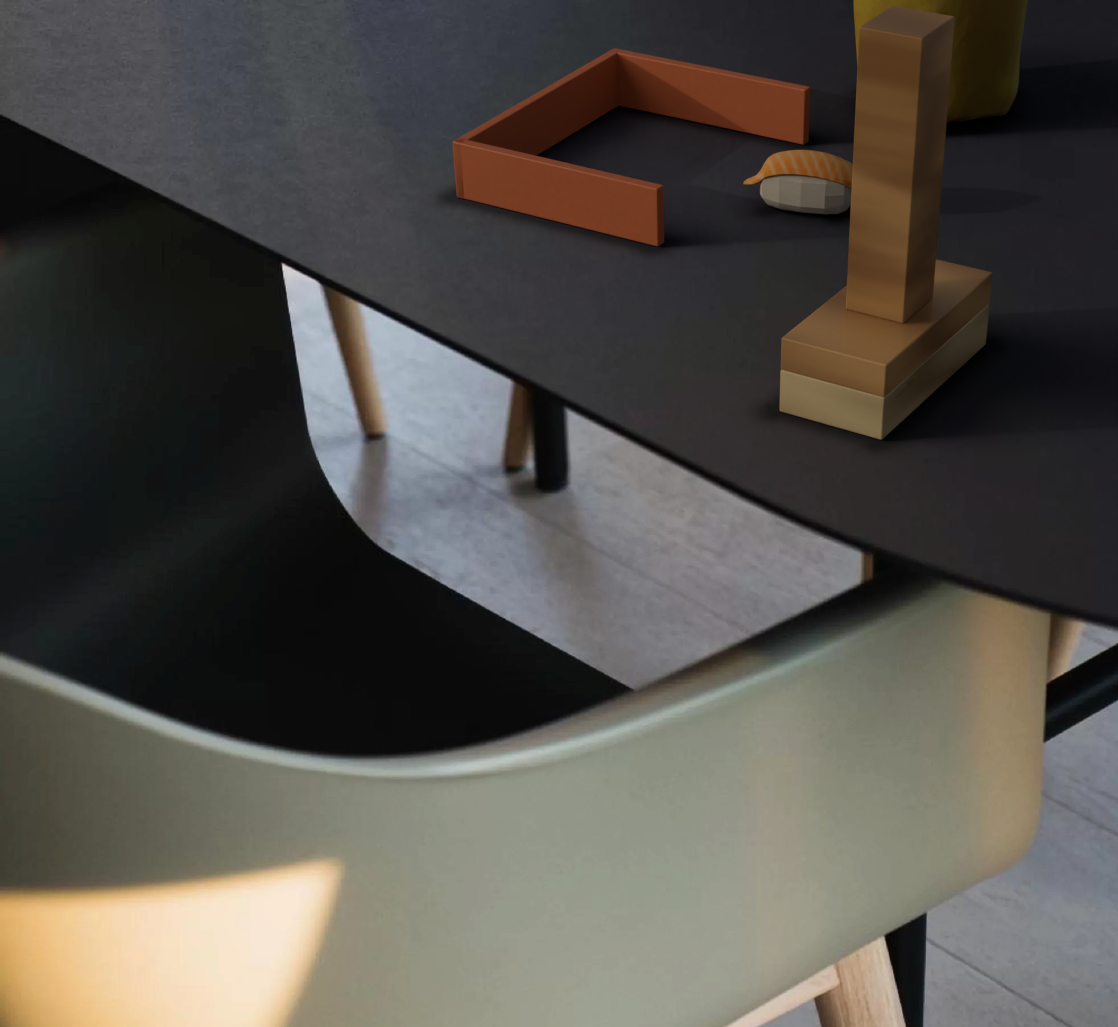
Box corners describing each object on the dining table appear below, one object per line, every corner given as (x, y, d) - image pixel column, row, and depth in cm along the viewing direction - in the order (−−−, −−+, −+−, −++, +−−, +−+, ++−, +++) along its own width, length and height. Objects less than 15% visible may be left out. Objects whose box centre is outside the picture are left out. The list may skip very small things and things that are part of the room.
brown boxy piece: (887, 319, 95) (909, -26, 85) (986, 344, 93) (1020, -8, 83) (778, 411, 89) (788, 51, 79) (881, 440, 87) (905, 73, 77)
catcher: (809, 141, 111) (811, 86, 109) (658, 247, 102) (657, 189, 100) (615, 100, 117) (614, 47, 115) (456, 197, 108) (451, 141, 106)
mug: (1032, 119, 107) (998, -83, 104) (847, 160, 112) (808, -31, 108) (1080, 82, 117) (1050, -103, 113) (908, 122, 122) (874, -55, 118)
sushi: (859, 224, 103) (862, 166, 101) (736, 211, 105) (737, 154, 103) (871, 202, 105) (874, 145, 103) (750, 191, 107) (751, 134, 105)
